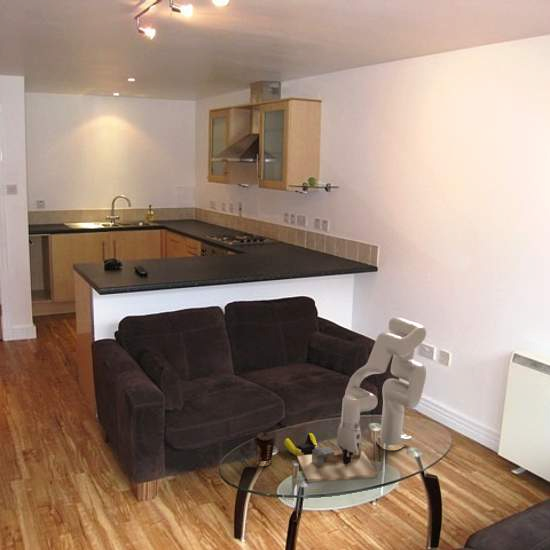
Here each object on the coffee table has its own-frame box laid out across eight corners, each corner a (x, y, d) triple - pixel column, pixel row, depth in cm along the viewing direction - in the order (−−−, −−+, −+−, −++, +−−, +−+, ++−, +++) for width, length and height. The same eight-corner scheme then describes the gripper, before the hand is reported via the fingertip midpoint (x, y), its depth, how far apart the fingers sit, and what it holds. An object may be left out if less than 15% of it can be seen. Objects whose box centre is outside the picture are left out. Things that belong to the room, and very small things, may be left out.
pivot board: (363, 453, 269) (364, 440, 267) (377, 476, 252) (378, 462, 250) (297, 458, 263) (297, 444, 261) (307, 482, 246) (308, 467, 244)
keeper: (328, 458, 262) (329, 446, 260) (333, 464, 257) (334, 452, 256) (311, 462, 258) (312, 449, 257) (316, 468, 254) (317, 455, 252)
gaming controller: (282, 449, 270) (293, 460, 262) (282, 437, 269) (293, 448, 260) (311, 442, 277) (322, 453, 268) (311, 431, 276) (323, 441, 267)
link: (357, 452, 267) (358, 446, 266) (362, 457, 263) (362, 451, 262) (320, 457, 261) (320, 451, 260) (324, 463, 257) (324, 457, 256)
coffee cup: (262, 455, 264) (263, 428, 261) (277, 462, 260) (279, 434, 256) (249, 463, 257) (250, 436, 254) (265, 470, 253) (267, 442, 249)
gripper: (369, 427, 250) (366, 467, 255) (342, 414, 261) (339, 452, 265) (358, 433, 245) (354, 473, 250) (330, 419, 256) (327, 458, 260)
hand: (346, 462), depth 257 cm, fingers closed
